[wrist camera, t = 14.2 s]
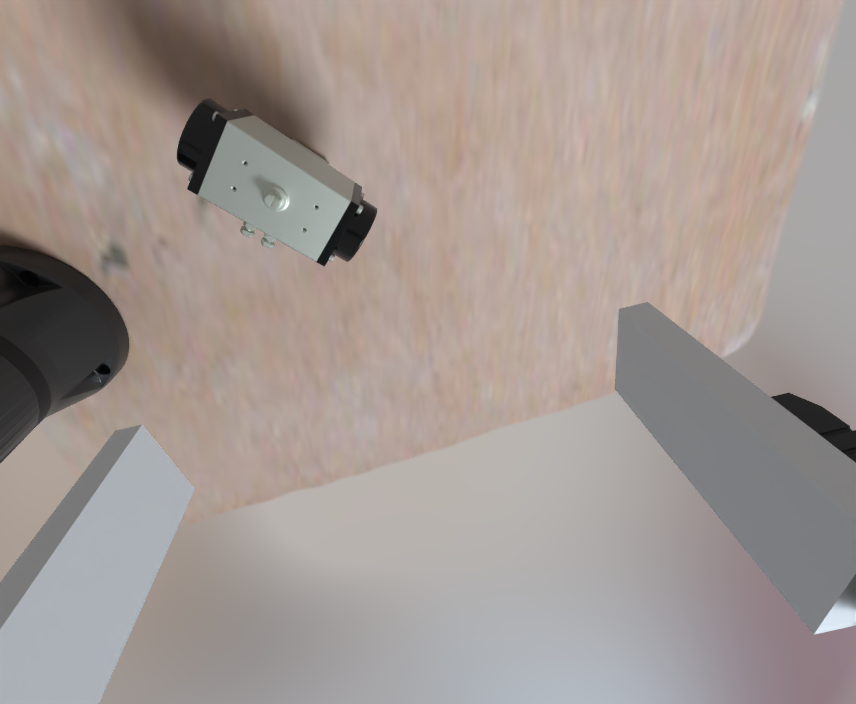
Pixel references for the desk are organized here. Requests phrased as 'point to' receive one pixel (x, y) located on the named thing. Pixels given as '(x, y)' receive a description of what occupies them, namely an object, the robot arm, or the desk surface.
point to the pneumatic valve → (273, 184)
